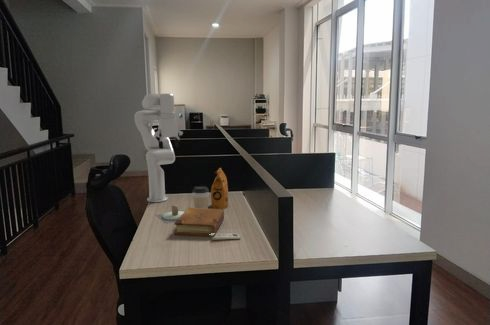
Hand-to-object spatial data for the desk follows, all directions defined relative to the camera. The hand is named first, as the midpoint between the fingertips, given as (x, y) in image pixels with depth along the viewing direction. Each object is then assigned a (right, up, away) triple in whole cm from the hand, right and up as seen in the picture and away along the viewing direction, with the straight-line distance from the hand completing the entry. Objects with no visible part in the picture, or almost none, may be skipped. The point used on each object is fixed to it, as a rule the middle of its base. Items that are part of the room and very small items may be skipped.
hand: (169, 147), depth 205 cm
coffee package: (+27, -34, +12) cm, 45 cm away
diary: (+20, -39, -24) cm, 50 cm away
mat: (+5, -37, -9) cm, 39 cm away
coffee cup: (+18, -36, -1) cm, 40 cm away
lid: (+5, -37, -9) cm, 38 cm away
